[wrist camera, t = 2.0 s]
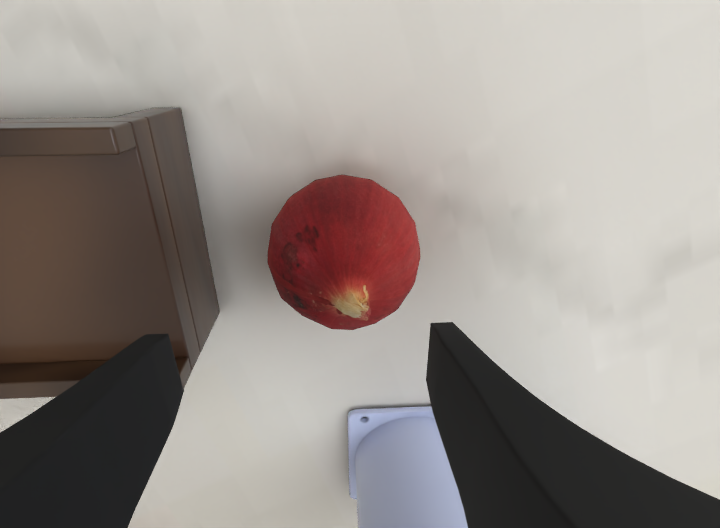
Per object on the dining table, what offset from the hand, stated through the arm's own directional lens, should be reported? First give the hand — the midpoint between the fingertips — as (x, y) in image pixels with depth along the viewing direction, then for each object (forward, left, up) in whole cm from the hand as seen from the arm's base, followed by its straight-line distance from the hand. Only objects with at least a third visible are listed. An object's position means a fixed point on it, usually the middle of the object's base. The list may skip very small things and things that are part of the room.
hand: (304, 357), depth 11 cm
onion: (-1, -1, -9) cm, 9 cm away
